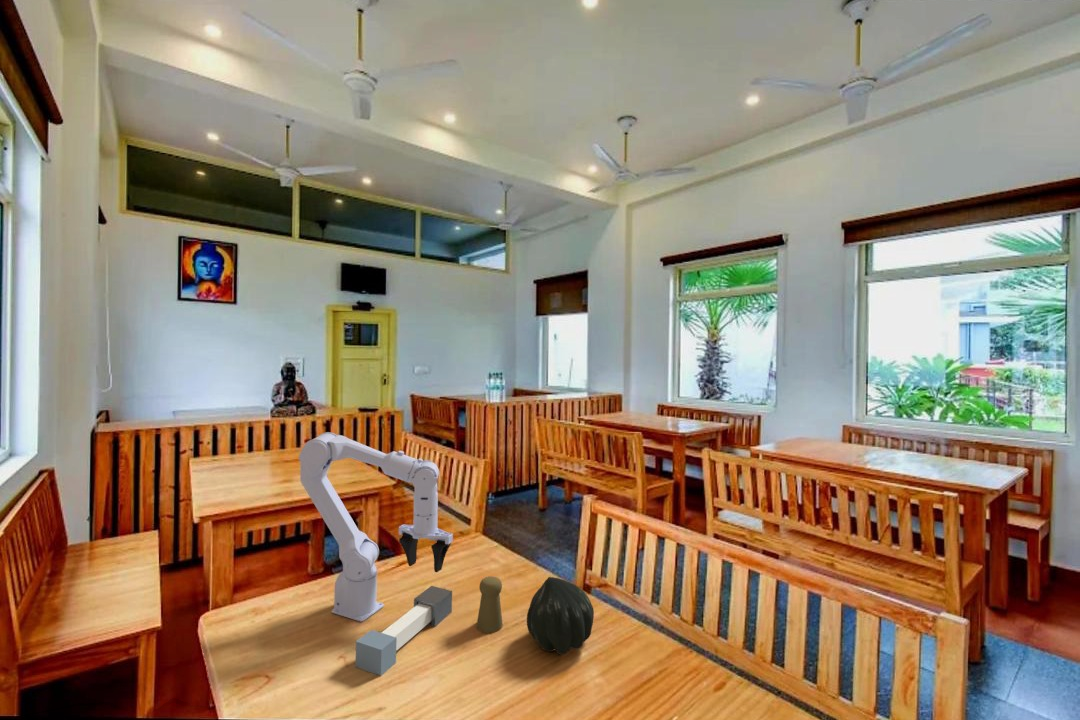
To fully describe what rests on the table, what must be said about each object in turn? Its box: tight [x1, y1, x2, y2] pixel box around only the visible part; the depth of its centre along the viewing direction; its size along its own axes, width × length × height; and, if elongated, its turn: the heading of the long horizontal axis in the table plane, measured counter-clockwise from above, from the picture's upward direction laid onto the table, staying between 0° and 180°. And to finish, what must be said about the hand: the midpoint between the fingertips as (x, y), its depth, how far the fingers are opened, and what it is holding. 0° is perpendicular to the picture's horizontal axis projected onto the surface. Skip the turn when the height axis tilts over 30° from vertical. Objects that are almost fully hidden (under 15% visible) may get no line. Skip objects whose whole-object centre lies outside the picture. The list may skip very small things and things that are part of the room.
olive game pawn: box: [476, 575, 504, 634], centre depth 115 cm, size 6×6×11 cm
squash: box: [526, 576, 595, 655], centre depth 110 cm, size 14×15×15 cm
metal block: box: [413, 585, 453, 627], centre depth 119 cm, size 6×7×5 cm
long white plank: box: [381, 602, 433, 652], centre depth 108 cm, size 4×19×4 cm, turn 157°
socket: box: [355, 629, 397, 677], centre depth 100 cm, size 6×4×5 cm
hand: (425, 567), depth 121 cm, fingers open, 7 cm apart
